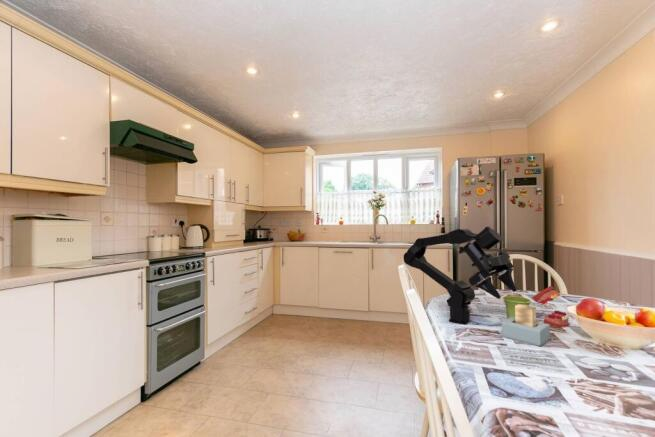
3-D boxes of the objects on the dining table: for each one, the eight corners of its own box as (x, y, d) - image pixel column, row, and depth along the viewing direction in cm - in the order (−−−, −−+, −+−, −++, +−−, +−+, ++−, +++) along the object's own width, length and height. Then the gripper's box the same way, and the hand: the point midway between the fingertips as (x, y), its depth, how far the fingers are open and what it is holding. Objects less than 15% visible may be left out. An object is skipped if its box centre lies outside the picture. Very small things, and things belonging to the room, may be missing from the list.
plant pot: (536, 326, 112) (535, 302, 112) (508, 324, 113) (507, 301, 114) (525, 318, 121) (524, 296, 121) (499, 317, 123) (498, 295, 123)
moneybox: (501, 336, 101) (501, 321, 101) (512, 330, 107) (512, 316, 107) (540, 346, 92) (540, 330, 93) (550, 339, 98) (549, 324, 98)
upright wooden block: (515, 335, 101) (515, 305, 101) (519, 333, 102) (518, 304, 103) (532, 340, 97) (532, 308, 97) (536, 338, 98) (535, 307, 99)
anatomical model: (571, 328, 107) (551, 286, 111) (546, 331, 112) (528, 291, 117) (577, 322, 113) (558, 283, 118) (554, 325, 119) (536, 288, 124)
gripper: (476, 250, 102) (508, 291, 94) (509, 240, 110) (541, 277, 103) (456, 266, 110) (484, 305, 102) (488, 256, 119) (516, 291, 111)
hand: (507, 294), depth 104 cm, fingers open, 9 cm apart
